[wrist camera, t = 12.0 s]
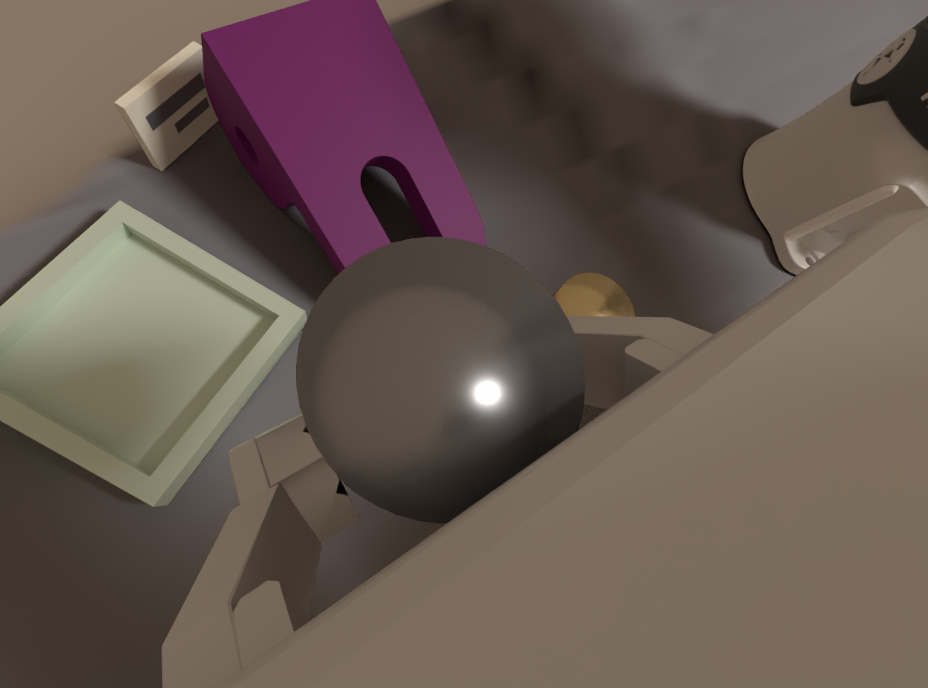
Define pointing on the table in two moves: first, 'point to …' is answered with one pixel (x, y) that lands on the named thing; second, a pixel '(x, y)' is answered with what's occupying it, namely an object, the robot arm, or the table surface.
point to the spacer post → (436, 375)
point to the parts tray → (137, 352)
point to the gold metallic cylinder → (593, 297)
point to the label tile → (170, 107)
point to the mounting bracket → (333, 122)
